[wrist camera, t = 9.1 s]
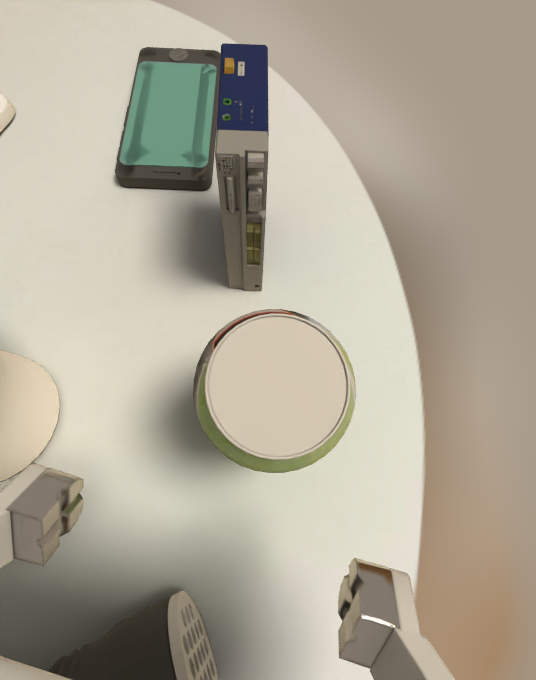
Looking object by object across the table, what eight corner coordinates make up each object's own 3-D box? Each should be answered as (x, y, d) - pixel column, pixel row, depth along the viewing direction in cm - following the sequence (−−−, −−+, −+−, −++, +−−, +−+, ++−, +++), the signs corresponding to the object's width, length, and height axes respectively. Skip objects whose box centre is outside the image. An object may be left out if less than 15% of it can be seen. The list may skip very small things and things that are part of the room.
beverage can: (296, 350, 26) (330, 244, 15) (331, 462, 23) (405, 437, 12) (202, 373, 25) (163, 279, 14) (228, 492, 22) (206, 494, 11)
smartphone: (221, 48, 35) (209, 178, 29) (222, 62, 36) (211, 190, 30) (137, 44, 34) (109, 174, 29) (141, 58, 36) (115, 187, 30)
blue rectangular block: (231, 205, 30) (219, 35, 19) (262, 206, 30) (268, 37, 19) (228, 291, 27) (213, 151, 16) (262, 291, 27) (270, 153, 16)
